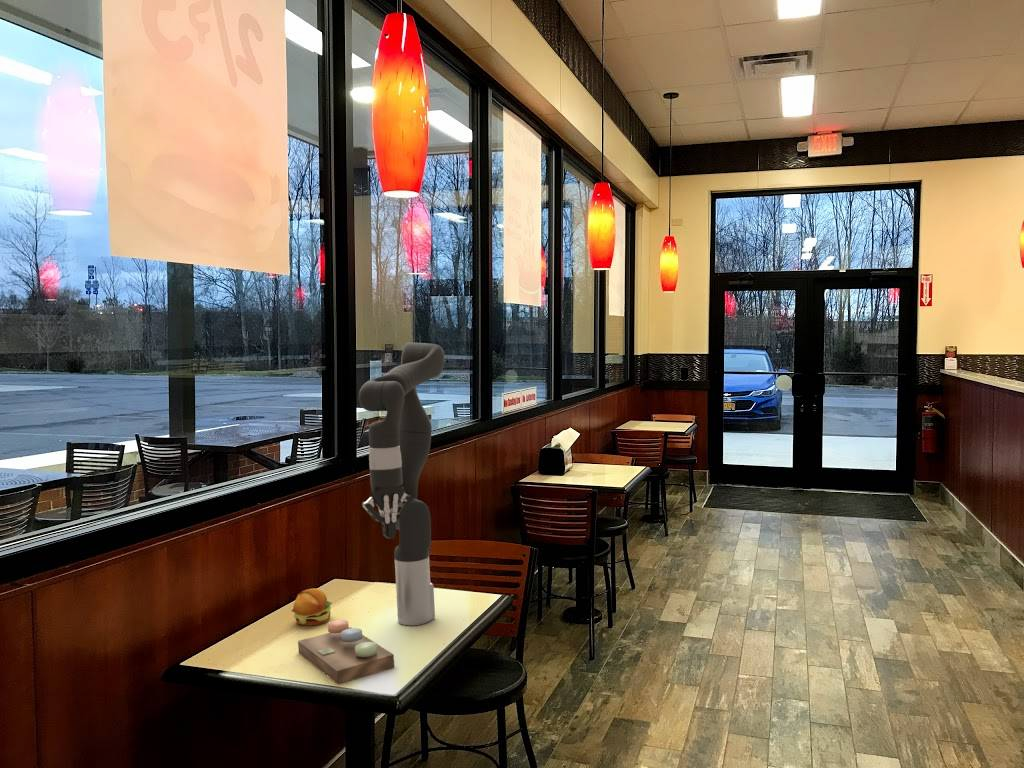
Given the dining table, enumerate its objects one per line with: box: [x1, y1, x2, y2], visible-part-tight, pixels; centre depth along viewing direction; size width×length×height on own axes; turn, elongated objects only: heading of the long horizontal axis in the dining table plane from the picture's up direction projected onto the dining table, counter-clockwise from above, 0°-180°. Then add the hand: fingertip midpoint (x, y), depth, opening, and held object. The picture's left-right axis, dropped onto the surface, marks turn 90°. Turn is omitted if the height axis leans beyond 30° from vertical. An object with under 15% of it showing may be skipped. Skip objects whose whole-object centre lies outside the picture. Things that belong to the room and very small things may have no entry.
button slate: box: [341, 627, 363, 642], centre depth 194 cm, size 5×5×2 cm
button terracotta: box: [327, 619, 350, 633], centre depth 201 cm, size 5×5×2 cm
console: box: [297, 626, 395, 685], centre depth 193 cm, size 14×24×3 cm, turn 35°
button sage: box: [355, 641, 378, 657], centre depth 188 cm, size 5×5×2 cm
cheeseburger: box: [291, 587, 333, 626], centre depth 221 cm, size 10×11×10 cm
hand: (389, 537), depth 192 cm, fingers closed
